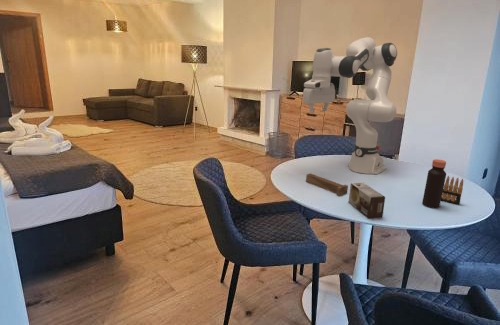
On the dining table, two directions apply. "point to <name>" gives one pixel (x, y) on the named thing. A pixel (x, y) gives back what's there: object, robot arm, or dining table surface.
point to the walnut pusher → (327, 184)
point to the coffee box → (366, 200)
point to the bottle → (434, 184)
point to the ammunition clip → (448, 191)
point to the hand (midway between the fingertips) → (318, 112)
